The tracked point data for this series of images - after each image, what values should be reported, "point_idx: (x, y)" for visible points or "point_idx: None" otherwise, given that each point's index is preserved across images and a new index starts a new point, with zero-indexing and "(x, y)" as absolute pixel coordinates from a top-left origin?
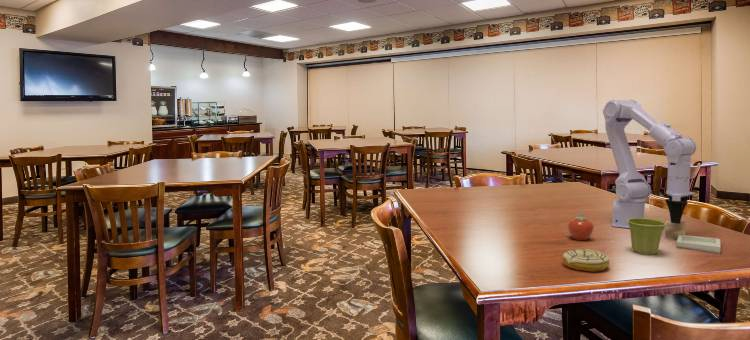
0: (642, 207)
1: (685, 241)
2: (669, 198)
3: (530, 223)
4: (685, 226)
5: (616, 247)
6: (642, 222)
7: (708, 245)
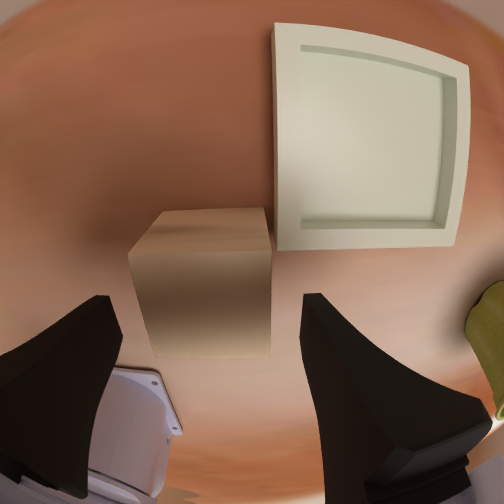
0: (109, 454)
1: (343, 203)
2: (82, 482)
3: (272, 493)
4: (194, 239)
5: (454, 369)
6: (500, 393)
7: (468, 113)
